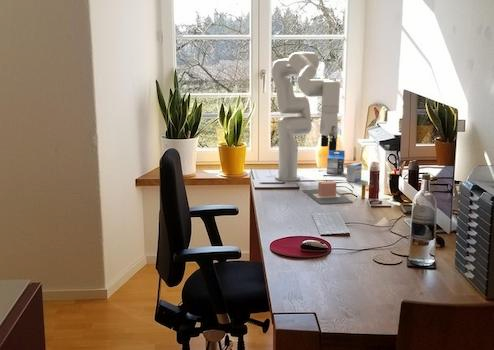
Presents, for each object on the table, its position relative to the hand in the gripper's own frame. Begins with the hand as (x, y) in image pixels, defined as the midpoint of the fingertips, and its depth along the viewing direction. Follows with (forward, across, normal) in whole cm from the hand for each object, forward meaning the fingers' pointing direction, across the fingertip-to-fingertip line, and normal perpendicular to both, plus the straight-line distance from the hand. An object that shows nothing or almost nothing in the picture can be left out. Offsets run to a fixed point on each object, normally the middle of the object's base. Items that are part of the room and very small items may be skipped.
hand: (328, 148), depth 254 cm
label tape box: (+23, -46, +22) cm, 56 cm away
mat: (+22, 0, 0) cm, 22 cm away
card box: (+22, 0, 0) cm, 22 cm away
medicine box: (+22, -28, +25) cm, 44 cm away
